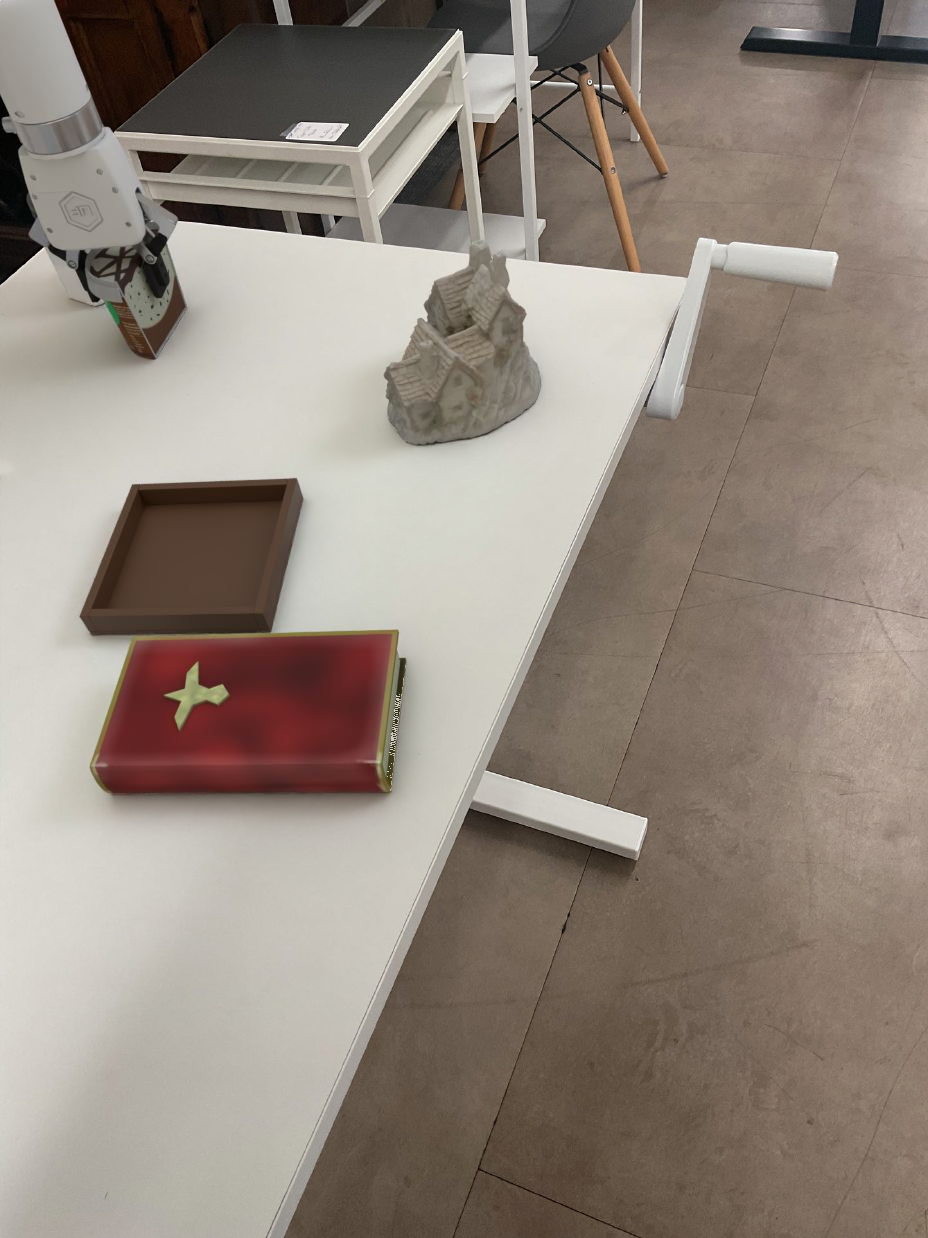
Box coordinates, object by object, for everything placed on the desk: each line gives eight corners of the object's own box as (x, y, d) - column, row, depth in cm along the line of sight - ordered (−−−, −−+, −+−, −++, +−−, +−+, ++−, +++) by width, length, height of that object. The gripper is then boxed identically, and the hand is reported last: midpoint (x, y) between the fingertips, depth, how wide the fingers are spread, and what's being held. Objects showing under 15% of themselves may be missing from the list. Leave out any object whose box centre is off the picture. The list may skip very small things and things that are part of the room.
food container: (143, 299, 116) (109, 218, 109) (192, 300, 115) (161, 218, 107) (99, 366, 109) (59, 284, 101) (150, 367, 108) (114, 284, 100)
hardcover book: (390, 797, 71) (379, 766, 68) (109, 798, 74) (86, 769, 71) (406, 660, 79) (397, 627, 76) (150, 666, 81) (131, 634, 78)
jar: (83, 266, 123) (39, 171, 113) (147, 261, 122) (108, 164, 112) (61, 309, 117) (13, 212, 108) (128, 304, 116) (86, 206, 107)
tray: (91, 635, 84) (78, 616, 82) (141, 503, 94) (131, 483, 92) (270, 632, 82) (262, 613, 80) (303, 497, 92) (296, 477, 90)
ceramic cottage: (509, 317, 105) (488, 185, 93) (562, 416, 95) (545, 282, 83) (367, 364, 105) (327, 237, 93) (406, 468, 95) (366, 341, 83)
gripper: (-41, 152, 93) (44, 318, 107) (136, 136, 91) (199, 308, 105) (-12, 114, 98) (66, 278, 112) (157, 98, 96) (216, 268, 109)
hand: (130, 291), depth 108 cm, fingers closed on food container, 6 cm apart
